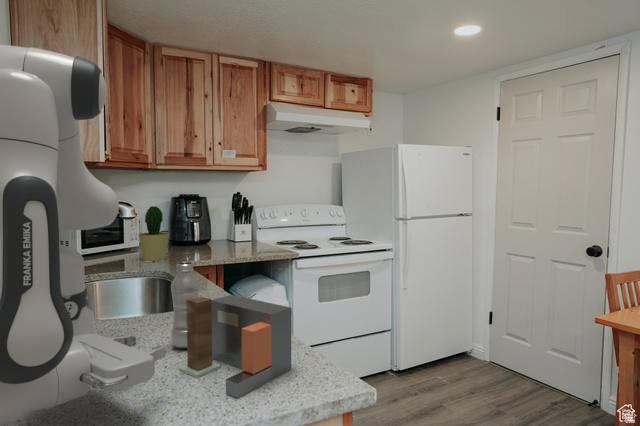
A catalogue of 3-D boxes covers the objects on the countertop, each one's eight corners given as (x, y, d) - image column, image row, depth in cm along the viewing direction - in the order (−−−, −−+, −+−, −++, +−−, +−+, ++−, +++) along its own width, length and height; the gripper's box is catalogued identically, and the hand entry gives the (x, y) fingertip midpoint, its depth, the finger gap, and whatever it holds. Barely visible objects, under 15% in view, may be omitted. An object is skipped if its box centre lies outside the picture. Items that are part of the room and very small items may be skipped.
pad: (178, 370, 85) (178, 367, 85) (202, 360, 90) (202, 358, 90) (197, 378, 81) (197, 375, 81) (220, 367, 86) (220, 364, 86)
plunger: (242, 370, 78) (241, 328, 78) (260, 361, 82) (260, 321, 82) (253, 374, 76) (253, 331, 76) (271, 365, 80) (271, 324, 80)
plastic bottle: (189, 339, 103) (188, 260, 102) (205, 346, 98) (204, 263, 97) (165, 347, 98) (164, 263, 97) (181, 354, 93) (180, 266, 92)
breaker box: (176, 372, 84) (175, 309, 83) (231, 349, 96) (231, 294, 95) (237, 398, 73) (236, 326, 73) (291, 369, 85) (291, 307, 85)
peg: (187, 366, 85) (186, 300, 84) (201, 361, 88) (200, 296, 87) (198, 371, 83) (197, 302, 82) (212, 365, 86) (211, 299, 85)
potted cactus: (137, 263, 212) (136, 205, 211) (140, 259, 227) (139, 204, 225) (169, 262, 217) (168, 205, 216) (170, 257, 232) (169, 204, 230)
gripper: (99, 367, 58) (182, 339, 70) (39, 338, 70) (119, 318, 81) (100, 411, 59) (183, 376, 70) (40, 374, 70) (119, 350, 82)
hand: (148, 345), depth 76 cm, fingers open, 8 cm apart
